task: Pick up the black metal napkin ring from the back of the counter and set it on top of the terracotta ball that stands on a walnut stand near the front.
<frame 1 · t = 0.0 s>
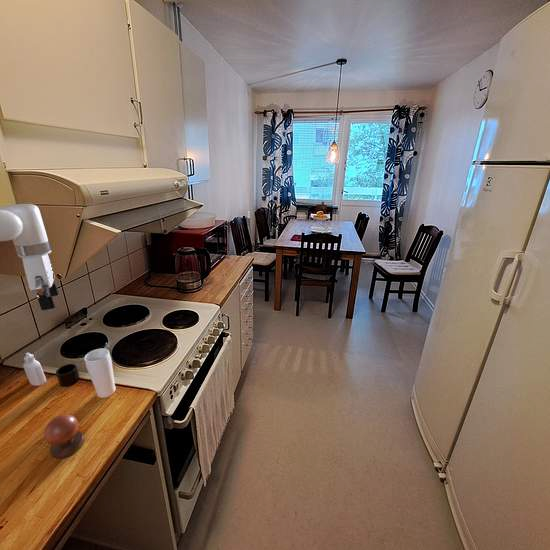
hand: (50, 302, 87), 30 cm above the worktop, tool pointing down, fingers open, 9 cm apart
eye dropper bottle: (38, 382, 97), on the worktop
drinking glass: (107, 393, 93), on the worktop
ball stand: (68, 446, 75), on the worktop
napkin ring: (69, 381, 97), on the worktop
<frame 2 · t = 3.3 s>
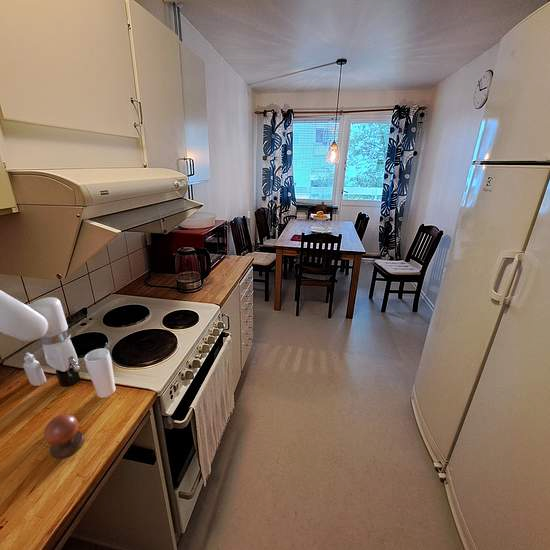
hand: (69, 379, 97), 1 cm above the worktop, tool pointing down, fingers closed on napkin ring, 5 cm apart
napkin ring: (69, 381, 97), on the worktop, touching gripper
everything else where it was.
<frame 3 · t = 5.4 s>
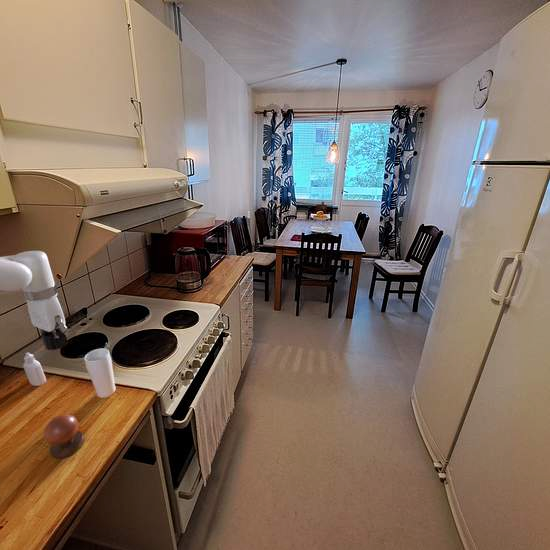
hand: (56, 343, 91), 16 cm above the worktop, tool pointing down, fingers closed on napkin ring, 5 cm apart
napkin ring: (56, 344, 91), point 15 cm above the worktop, touching gripper
everything else where it was.
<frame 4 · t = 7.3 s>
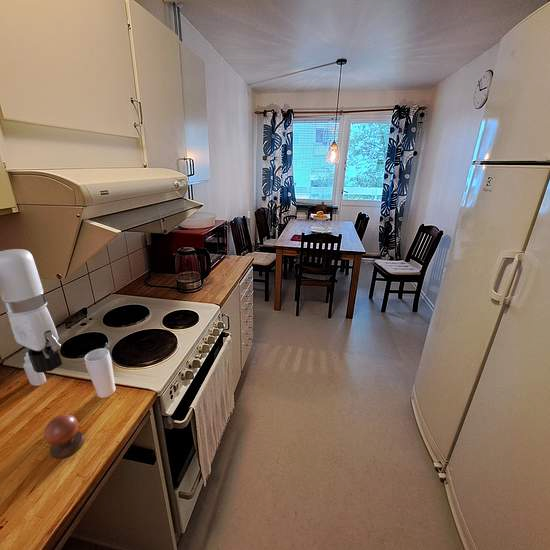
hand: (47, 363, 74), 21 cm above the worktop, tool pointing down, fingers closed on napkin ring, 5 cm apart
napkin ring: (48, 365, 74), point 21 cm above the worktop, touching gripper
everything else where it was.
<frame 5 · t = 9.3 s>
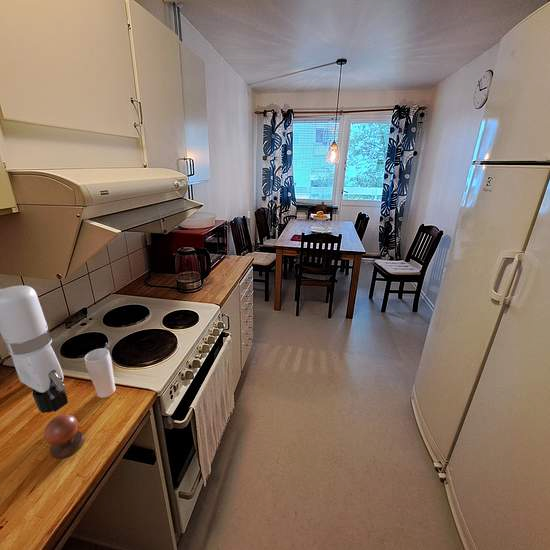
hand: (52, 401, 70), 15 cm above the worktop, tool pointing down, fingers closed on napkin ring, 5 cm apart
napkin ring: (53, 403, 70), point 15 cm above the worktop, touching gripper
everything else where it was.
when the fingers open (9 cm above the worktop, at t = 11.2 s): napkin ring stays where it is, resting on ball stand.
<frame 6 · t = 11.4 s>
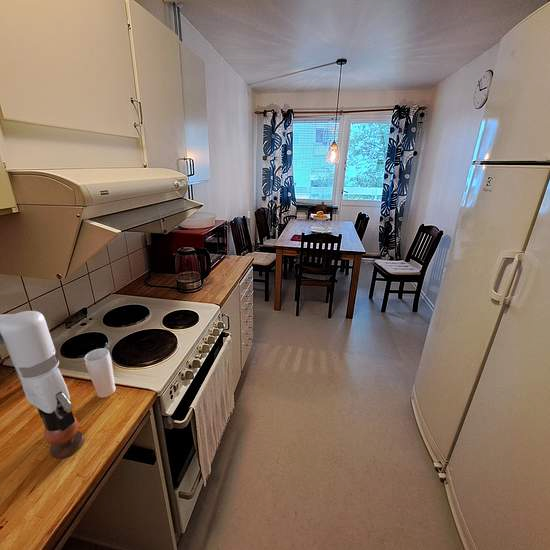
hand: (58, 419, 72), 10 cm above the worktop, tool pointing down, fingers open, 7 cm apart
napkin ring: (59, 421, 72), point 9 cm above the worktop, touching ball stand
everything else where it was.
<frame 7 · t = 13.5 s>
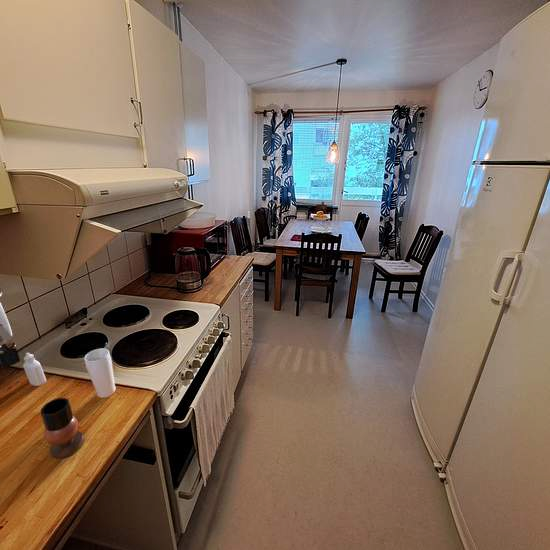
hand: (1, 357, 68), 27 cm above the worktop, tool pointing down, fingers open, 9 cm apart
nothing on the worktop moved.
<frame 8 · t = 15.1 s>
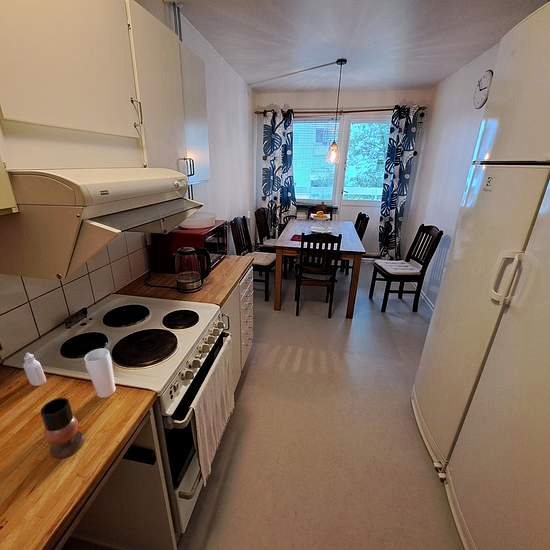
nothing on the worktop moved.
at the end: napkin ring 0.1 cm off-centre on the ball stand, point 8.8 cm above the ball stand's base; napkin ring tilted 2°; the gripper is holding nothing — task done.
